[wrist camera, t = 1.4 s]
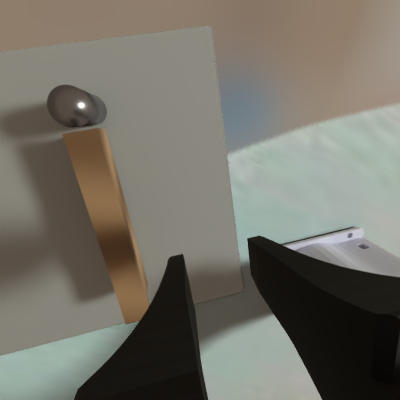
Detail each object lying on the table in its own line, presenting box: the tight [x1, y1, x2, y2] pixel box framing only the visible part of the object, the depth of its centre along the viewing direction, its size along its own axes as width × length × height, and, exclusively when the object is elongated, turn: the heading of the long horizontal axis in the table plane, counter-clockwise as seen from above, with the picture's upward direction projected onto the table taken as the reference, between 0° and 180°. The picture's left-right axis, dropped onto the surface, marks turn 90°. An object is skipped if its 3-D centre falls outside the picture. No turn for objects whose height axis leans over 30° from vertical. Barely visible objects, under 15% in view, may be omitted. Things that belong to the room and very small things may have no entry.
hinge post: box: [47, 85, 107, 128], centre depth 15 cm, size 2×2×5 cm
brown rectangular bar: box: [62, 128, 150, 324], centre depth 17 cm, size 13×2×4 cm, turn 9°
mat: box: [0, 25, 243, 356], centre depth 19 cm, size 24×22×1 cm
